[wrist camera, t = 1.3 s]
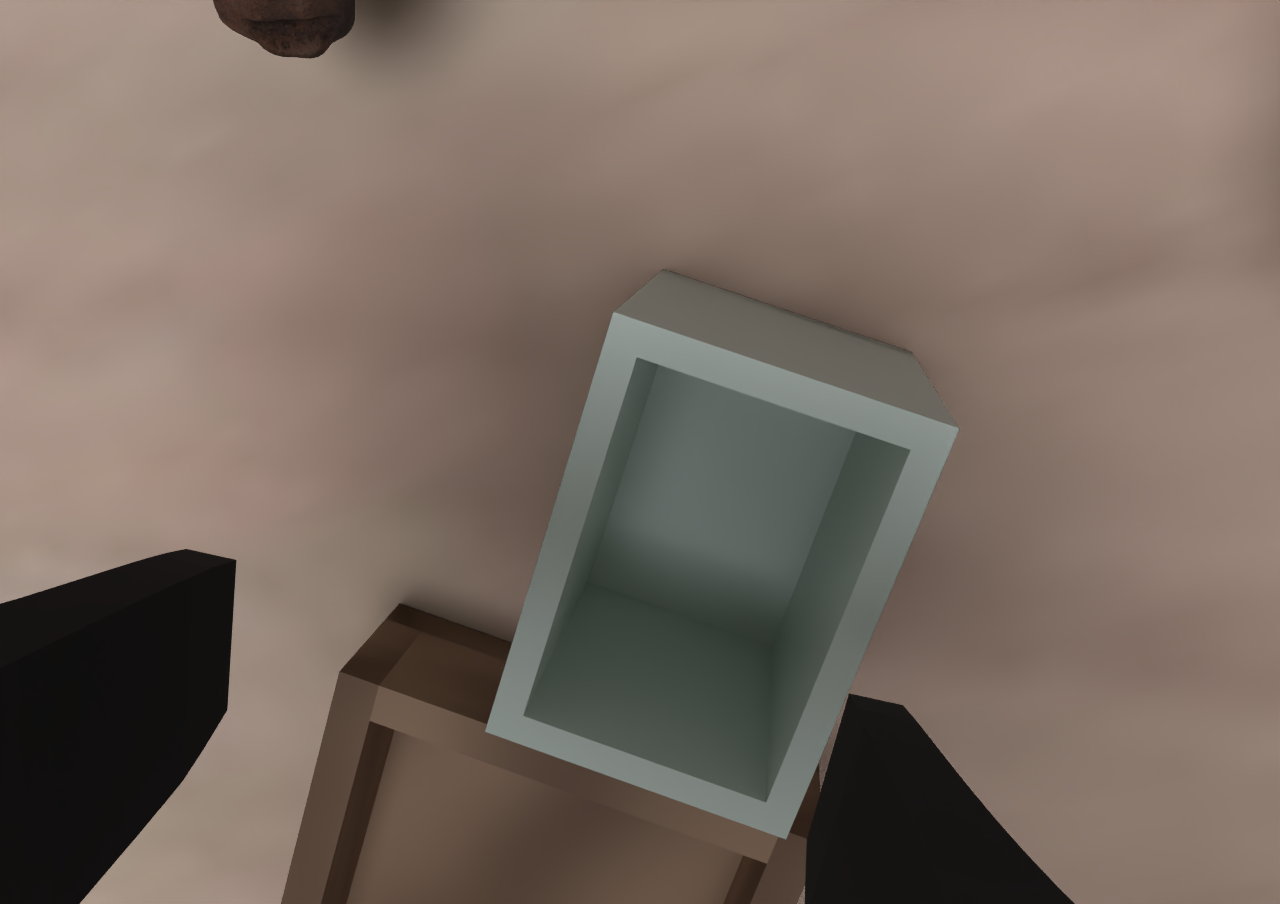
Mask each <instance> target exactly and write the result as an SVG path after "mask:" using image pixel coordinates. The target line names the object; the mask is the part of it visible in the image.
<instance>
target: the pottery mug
mask: <svg viewBox="0 0 1280 904" xmlns="http://www.w3.org/2000/svg"><path fill="white" fill-rule="evenodd" d="M213 2H214V5H215V8H216V10H217V12H218V15H219V18H220V19H221V21H222V22H223V23H224V24H225V25H227V26H228V27H229V28H230V29H232V30H233V31H235V32H237V33H239V34H241V35H243V36H245V37H247V38H249V39H251V40H254V41H256V42H258V43H259V44H260V45H261V46H262V47H263V48H264V49H265V50H267V51H268V52H270V53H272V54H274V55H278V56H282V57H299V58H315V57H319V56H320V55H322V54H324V52H325V51H326V50H327V49H328V47H329V46H330V45H331V44H332V43H333V42H335V41H337V40H338V39H340V38H343V37H344V36H346V35H347V34H348V33H349V31H350V30H351V28H352V26H353V24H354V20H355V0H213Z"/></svg>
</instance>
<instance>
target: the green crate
mask: <svg viewBox="0 0 1280 904" xmlns="http://www.w3.org/2000/svg"><path fill="white" fill-rule="evenodd" d="M958 431H959V427H958V425H957V424H956V422H955V421H954V419H953V417H952V416H951V414H950V413H949V411H948V409H947V408H946V406H945V405H944V403H943V401H942V400H941V398H940V397H939V395H938V394H937V392H936V390H935V389H934V387H933V386H932V384H931V382H930V381H929V379H928V378H927V376H926V374H925V373H924V371H923V370H922V368H921V366H920V365H919V363H918V362H917V360H916V358H915V357H914V355H913V354H912V352H910V351H907V350H904V349H901V348H898V347H895V346H892V345H889V344H886V343H883V342H880V341H877V340H874V339H871V338H868V337H865V336H862V335H859V334H856V333H853V332H850V331H847V330H844V329H841V328H838V327H835V326H832V325H829V324H826V323H823V322H820V321H817V320H814V319H811V318H808V317H805V316H802V315H799V314H796V313H793V312H790V311H787V310H784V309H781V308H778V307H775V306H772V305H769V304H766V303H763V302H760V301H757V300H754V299H751V298H748V297H745V296H742V295H739V294H736V293H733V292H730V291H727V290H724V289H721V288H718V287H715V286H712V285H709V284H706V283H703V282H700V281H697V280H694V279H691V278H688V277H685V276H682V275H679V274H676V273H673V272H670V271H667V270H664V269H663V270H662V271H661V272H660V273H658V274H657V275H656V276H655V277H654V278H653V279H651V280H650V281H649V282H648V283H647V284H646V285H644V286H643V287H642V288H641V289H640V290H639V291H637V292H636V293H635V294H634V295H633V296H631V297H630V298H629V299H628V300H627V301H626V302H624V303H623V304H622V305H621V306H620V307H619V308H617V309H616V310H615V311H614V312H613V315H612V318H611V321H610V325H609V328H608V331H607V334H606V338H605V341H604V344H603V348H602V351H601V354H600V357H599V361H598V364H597V367H596V370H595V374H594V377H593V380H592V384H591V387H590V390H589V393H588V397H587V400H586V403H585V406H584V410H583V413H582V416H581V419H580V423H579V426H578V429H577V433H576V436H575V439H574V442H573V446H572V449H571V452H570V455H569V459H568V462H567V465H566V468H565V472H564V475H563V478H562V482H561V485H560V488H559V491H558V495H557V498H556V501H555V504H554V508H553V511H552V514H551V518H550V521H549V524H548V527H547V531H546V534H545V537H544V540H543V544H542V547H541V550H540V553H539V557H538V560H537V563H536V567H535V570H534V573H533V576H532V580H531V583H530V586H529V589H528V593H527V596H526V599H525V603H524V606H523V609H522V612H521V616H520V619H519V622H518V625H517V629H516V632H515V635H514V638H513V642H512V645H511V648H510V652H509V655H508V658H507V661H506V665H505V668H504V671H503V674H502V678H501V681H500V684H499V688H498V691H497V694H496V697H495V701H494V704H493V707H492V710H491V714H490V717H489V720H488V723H487V727H486V730H485V732H487V733H490V734H493V735H496V736H498V737H501V738H504V739H507V740H509V741H512V742H515V743H518V744H521V745H523V746H526V747H529V748H532V749H535V750H537V751H540V752H543V753H546V754H549V755H551V756H554V757H557V758H560V759H563V760H565V761H568V762H571V763H574V764H576V765H579V766H582V767H585V768H588V769H590V770H593V771H596V772H599V773H602V774H604V775H607V776H610V777H613V778H616V779H618V780H621V781H624V782H627V783H630V784H632V785H635V786H638V787H641V788H643V789H646V790H649V791H652V792H655V793H657V794H660V795H663V796H666V797H669V798H671V799H674V800H677V801H680V802H683V803H685V804H688V805H691V806H694V807H697V808H699V809H702V810H705V811H708V812H710V813H713V814H716V815H719V816H722V817H724V818H727V819H730V820H733V821H736V822H738V823H741V824H744V825H747V826H750V827H752V828H755V829H758V830H761V831H764V832H766V833H769V834H772V835H775V836H777V837H780V838H783V839H786V838H787V836H788V834H789V831H790V829H791V827H792V824H793V822H794V819H795V817H796V815H797V812H798V810H799V808H800V805H801V803H802V801H803V798H804V796H805V793H806V791H807V789H808V786H809V784H810V782H811V779H812V777H813V774H814V772H815V770H816V767H817V765H818V763H819V760H820V758H821V755H822V753H823V751H824V748H825V746H826V744H827V741H828V739H829V737H830V734H831V732H832V729H833V727H834V725H835V722H836V720H837V718H838V715H839V713H840V710H841V708H842V706H843V703H844V701H845V699H846V696H847V694H848V691H849V689H850V687H851V684H852V682H853V680H854V677H855V675H856V673H857V670H858V668H859V665H860V663H861V661H862V658H863V656H864V654H865V651H866V649H867V646H868V644H869V642H870V639H871V637H872V635H873V632H874V630H875V627H876V625H877V623H878V620H879V618H880V616H881V613H882V611H883V609H884V606H885V604H886V601H887V599H888V597H889V594H890V592H891V590H892V587H893V585H894V582H895V580H896V578H897V575H898V573H899V571H900V568H901V566H902V563H903V561H904V559H905V556H906V554H907V552H908V549H909V547H910V545H911V542H912V540H913V537H914V535H915V533H916V530H917V528H918V526H919V523H920V521H921V518H922V516H923V514H924V511H925V509H926V507H927V504H928V502H929V500H930V497H931V495H932V492H933V490H934V488H935V485H936V483H937V481H938V478H939V476H940V473H941V471H942V469H943V466H944V464H945V462H946V459H947V457H948V454H949V452H950V450H951V447H952V445H953V443H954V440H955V438H956V436H957V433H958Z"/></svg>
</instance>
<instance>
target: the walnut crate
mask: <svg viewBox="0 0 1280 904" xmlns="http://www.w3.org/2000/svg"><path fill="white" fill-rule="evenodd" d="M511 645H512V643H509V642H506V641H503V640H501V639H498V638H495V637H492V636H489V635H486V634H484V633H481V632H478V631H475V630H472V629H469V628H467V627H464V626H461V625H458V624H455V623H452V622H450V621H447V620H444V619H441V618H438V617H435V616H433V615H430V614H427V613H424V612H421V611H419V610H416V609H413V608H410V607H407V606H404V605H402V604H399V605H398V606H397V607H396V608H395V609H394V610H393V612H392V613H391V614H390V615H389V616H388V617H387V618H386V619H385V621H384V622H383V623H382V624H381V625H380V626H379V627H378V629H377V630H376V631H375V632H374V633H373V634H372V635H371V636H370V638H369V639H368V640H367V641H366V642H365V643H364V644H363V646H362V647H361V648H360V649H359V650H358V651H357V652H356V653H355V655H354V656H353V657H352V658H351V659H350V660H349V661H348V663H347V664H346V665H345V666H344V667H343V668H342V669H341V670H340V672H339V676H338V680H337V684H336V688H335V692H334V696H333V700H332V703H331V707H330V711H329V715H328V719H327V723H326V727H325V731H324V735H323V739H322V743H321V747H320V751H319V755H318V759H317V763H316V767H315V771H314V775H313V779H312V783H311V787H310V791H309V795H308V799H307V803H306V807H305V811H304V815H303V818H302V822H301V826H300V830H299V834H298V838H297V842H296V846H295V850H294V854H293V858H292V862H291V866H290V870H289V874H288V878H287V882H286V886H285V890H284V894H283V898H282V902H281V904H797V902H798V899H799V897H800V895H801V892H802V890H803V888H804V886H805V877H806V845H807V837H808V833H809V830H810V827H811V823H812V820H813V816H814V813H815V809H816V806H817V803H818V799H819V796H820V780H819V763H818V765H817V767H816V770H815V772H814V774H813V777H812V779H811V782H810V784H809V786H808V789H807V791H806V793H805V796H804V798H803V801H802V803H801V805H800V808H799V810H798V812H797V815H796V817H795V819H794V822H793V824H792V827H791V829H790V831H789V834H788V836H787V838H786V839H783V838H780V837H777V836H775V835H772V834H769V833H766V832H764V831H761V830H758V829H755V828H752V827H750V826H747V825H744V824H741V823H738V822H736V821H733V820H730V819H727V818H724V817H722V816H719V815H716V814H713V813H710V812H708V811H705V810H702V809H699V808H697V807H694V806H691V805H688V804H685V803H683V802H680V801H677V800H674V799H671V798H669V797H666V796H663V795H660V794H657V793H655V792H652V791H649V790H646V789H643V788H641V787H638V786H635V785H632V784H630V783H627V782H624V781H621V780H618V779H616V778H613V777H610V776H607V775H604V774H602V773H599V772H596V771H593V770H590V769H588V768H585V767H582V766H579V765H576V764H574V763H571V762H568V761H565V760H563V759H560V758H557V757H554V756H551V755H549V754H546V753H543V752H540V751H537V750H535V749H532V748H529V747H526V746H523V745H521V744H518V743H515V742H512V741H509V740H507V739H504V738H501V737H498V736H496V735H493V734H490V733H487V732H485V730H486V727H487V723H488V720H489V717H490V714H491V710H492V707H493V704H494V701H495V697H496V694H497V691H498V688H499V684H500V681H501V678H502V674H503V671H504V668H505V665H506V661H507V658H508V655H509V652H510V648H511Z"/></svg>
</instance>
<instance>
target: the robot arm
mask: <svg viewBox="0 0 1280 904" xmlns="http://www.w3.org/2000/svg"><path fill="white" fill-rule="evenodd" d="M235 573H236V560H234V559H229V558H225V557H220V556H215V555H211V554H206V553H202V552H197V551H193V550H188V549H184V550H179V551H174V552H169V553H165V554H161V555H157V556H154V557H150V558H147V559H143V560H140V561H136V562H133V563H130V564H127V565H123V566H120V567H117V568H114V569H111V570H107V571H104V572H101V573H98V574H95V575H92V576H89V577H86V578H82V579H79V580H76V581H73V582H70V583H67V584H63V585H60V586H57V587H54V588H51V589H48V590H44V591H41V592H38V593H35V594H32V595H29V596H25V597H22V598H19V599H16V600H12V601H9V602H5V603H1V604H0V904H80V902H81V901H82V900H83V899H84V898H85V897H86V895H87V894H88V893H89V892H90V891H91V889H92V888H93V887H94V886H95V885H96V884H97V882H98V881H99V880H100V879H101V878H102V877H103V875H104V874H105V873H106V872H107V871H108V869H109V868H110V867H111V866H112V865H113V864H114V862H115V861H116V860H117V859H118V858H119V857H120V855H121V854H122V853H123V852H124V851H125V850H126V848H127V847H128V846H129V845H130V844H131V842H132V841H133V840H134V839H135V838H136V837H137V835H138V834H139V833H140V832H141V831H142V829H143V828H144V827H145V826H146V825H147V823H148V822H149V821H150V820H151V819H152V817H153V816H154V815H155V814H156V813H157V811H158V810H159V809H160V808H161V807H162V805H163V804H164V803H165V802H166V801H167V799H168V798H169V797H170V796H171V795H172V793H173V792H174V791H175V790H176V788H177V787H178V786H179V785H180V783H181V782H182V781H183V780H184V778H185V777H186V775H187V774H188V772H189V770H190V769H191V767H192V766H193V764H194V763H195V761H196V760H197V758H198V757H199V755H200V754H201V752H202V751H203V749H204V747H205V746H206V744H207V742H208V741H209V739H210V738H211V736H212V734H213V733H214V731H215V729H216V728H217V726H218V724H219V723H220V721H221V719H222V718H223V716H224V714H225V713H226V711H227V705H228V688H229V672H230V655H231V639H232V622H233V606H234V589H235ZM805 904H1074V903H1073V902H1072V901H1071V900H1070V899H1069V898H1068V897H1067V896H1066V895H1065V894H1064V893H1063V892H1062V891H1061V890H1060V889H1059V888H1058V887H1057V886H1056V885H1055V884H1054V883H1053V882H1052V880H1051V879H1050V878H1049V877H1048V876H1047V875H1046V874H1045V873H1044V872H1043V871H1042V870H1041V869H1040V868H1039V867H1038V866H1037V864H1036V863H1035V862H1034V861H1033V860H1032V859H1031V858H1030V857H1029V856H1028V855H1027V854H1026V853H1025V852H1024V851H1023V850H1022V849H1021V847H1020V846H1019V845H1018V844H1017V843H1016V842H1015V841H1014V840H1013V838H1012V837H1011V836H1010V835H1009V834H1008V833H1007V832H1006V831H1005V829H1004V828H1003V827H1002V826H1001V825H1000V824H999V823H998V821H997V820H996V819H995V818H994V817H993V816H992V814H991V813H990V812H989V811H988V810H987V809H986V807H985V806H984V805H983V804H982V803H981V801H980V800H979V799H978V798H977V796H976V795H975V794H974V793H973V792H972V790H971V789H970V788H969V787H968V785H967V784H966V783H965V782H964V781H963V779H962V778H961V777H960V776H959V774H958V773H957V772H956V771H955V769H954V768H953V767H952V766H951V764H950V763H949V762H948V760H947V759H946V758H945V757H944V755H943V754H942V753H941V752H940V750H939V749H938V748H937V747H936V745H935V744H934V743H933V741H932V740H931V739H930V738H929V736H928V735H927V734H926V733H925V731H924V730H923V729H922V728H921V726H920V725H919V724H918V723H917V721H916V720H915V719H914V718H913V716H912V715H911V714H910V713H909V712H908V711H907V710H906V708H905V707H904V706H903V705H899V704H895V703H890V702H885V701H881V700H876V699H872V698H867V697H862V696H858V695H853V694H849V696H848V699H847V703H846V706H845V710H844V713H843V717H842V720H841V723H840V727H839V730H838V734H837V737H836V741H835V744H834V747H833V751H832V754H831V758H830V761H829V765H828V768H827V772H826V775H825V778H824V782H823V785H822V789H821V792H820V796H819V799H818V803H817V806H816V809H815V813H814V816H813V820H812V823H811V827H810V830H809V833H808V837H807V845H806V877H805Z"/></svg>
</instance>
